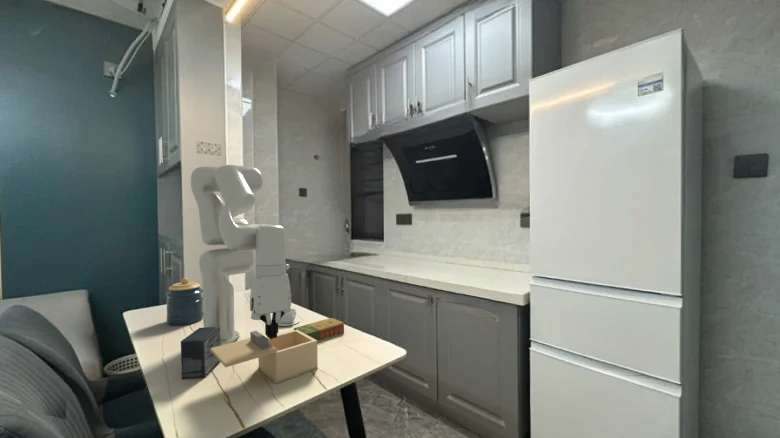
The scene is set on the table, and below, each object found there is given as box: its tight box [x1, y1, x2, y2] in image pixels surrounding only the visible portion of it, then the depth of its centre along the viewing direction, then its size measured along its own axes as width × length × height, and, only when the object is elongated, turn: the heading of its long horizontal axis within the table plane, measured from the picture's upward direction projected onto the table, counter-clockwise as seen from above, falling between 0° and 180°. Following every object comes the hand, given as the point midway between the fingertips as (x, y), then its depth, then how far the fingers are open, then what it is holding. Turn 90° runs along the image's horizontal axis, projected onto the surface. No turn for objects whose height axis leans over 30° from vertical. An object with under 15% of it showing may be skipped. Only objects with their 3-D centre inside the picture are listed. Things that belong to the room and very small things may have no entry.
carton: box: [293, 317, 345, 342], centre depth 118 cm, size 8×16×4 cm, turn 134°
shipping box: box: [257, 329, 319, 384], centre depth 94 cm, size 12×12×8 cm
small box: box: [180, 327, 221, 380], centre depth 93 cm, size 11×6×10 cm, turn 5°
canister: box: [165, 277, 203, 326], centre depth 135 cm, size 13×13×18 cm
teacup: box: [278, 308, 301, 327], centre depth 133 cm, size 10×10×5 cm
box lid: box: [210, 330, 277, 368], centre depth 85 cm, size 12×12×3 cm
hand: (271, 337), depth 90 cm, fingers closed
